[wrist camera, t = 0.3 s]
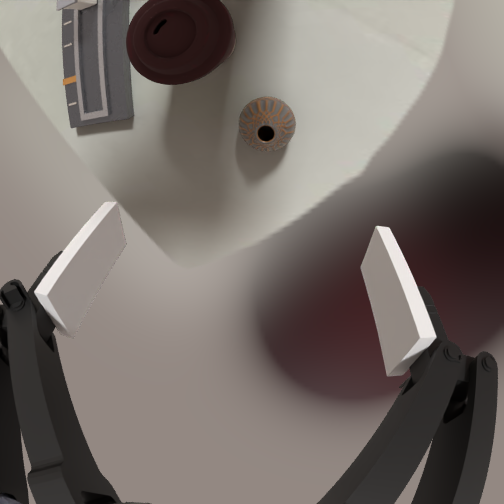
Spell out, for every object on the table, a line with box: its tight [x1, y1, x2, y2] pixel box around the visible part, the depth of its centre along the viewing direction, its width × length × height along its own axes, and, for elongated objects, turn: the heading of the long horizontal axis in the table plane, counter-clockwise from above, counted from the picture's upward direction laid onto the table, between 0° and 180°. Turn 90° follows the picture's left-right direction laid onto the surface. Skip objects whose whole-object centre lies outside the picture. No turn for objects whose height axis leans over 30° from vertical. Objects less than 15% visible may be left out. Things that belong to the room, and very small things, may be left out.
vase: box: [239, 97, 296, 151], centre depth 32 cm, size 7×7×9 cm
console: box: [62, 0, 134, 128], centre depth 26 cm, size 28×11×3 cm, turn 179°
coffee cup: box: [126, 0, 236, 85], centre depth 23 cm, size 10×10×15 cm
